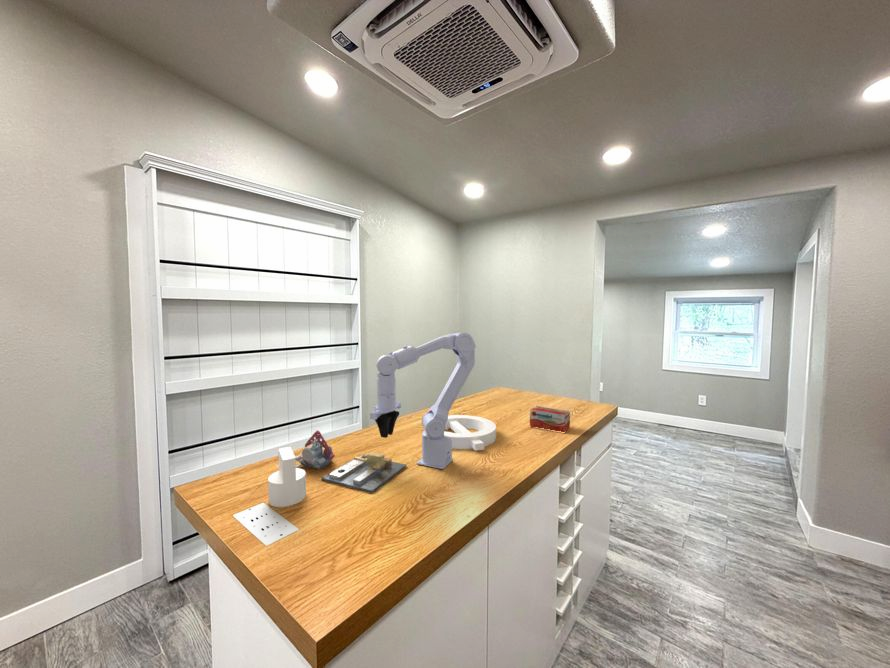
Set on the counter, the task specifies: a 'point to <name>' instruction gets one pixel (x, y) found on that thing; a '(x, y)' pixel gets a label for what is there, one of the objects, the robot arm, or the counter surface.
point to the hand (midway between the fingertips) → (386, 435)
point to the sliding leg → (373, 460)
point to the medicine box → (550, 418)
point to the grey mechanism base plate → (363, 474)
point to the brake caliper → (315, 453)
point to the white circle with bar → (465, 437)
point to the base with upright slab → (287, 481)
